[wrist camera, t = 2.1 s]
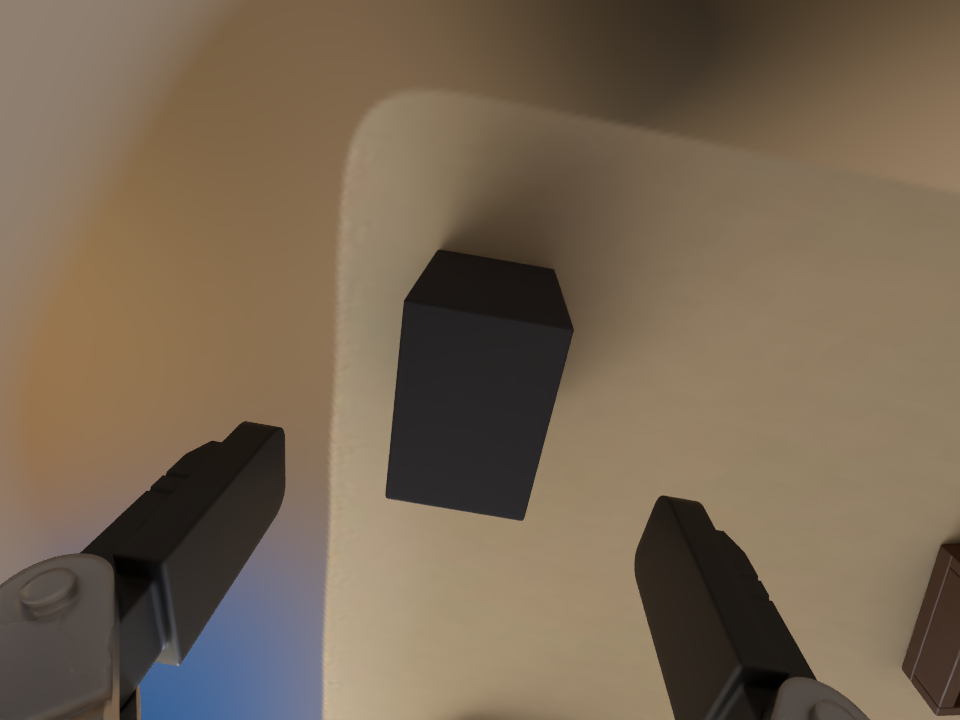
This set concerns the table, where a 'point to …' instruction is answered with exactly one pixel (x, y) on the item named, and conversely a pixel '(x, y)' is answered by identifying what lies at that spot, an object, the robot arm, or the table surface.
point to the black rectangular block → (476, 383)
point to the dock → (938, 637)
